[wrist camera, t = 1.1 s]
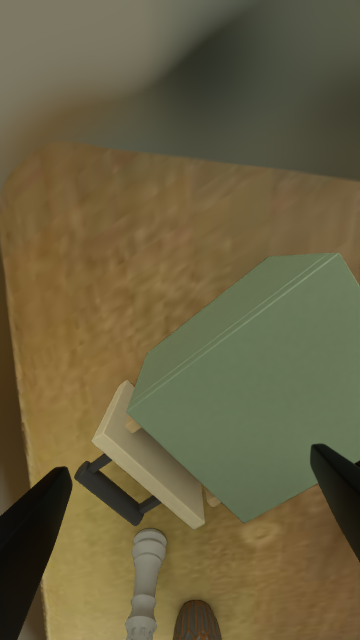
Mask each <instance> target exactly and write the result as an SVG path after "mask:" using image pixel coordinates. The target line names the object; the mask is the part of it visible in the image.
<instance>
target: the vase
mask: <svg viewBox="0 0 360 640" xmlns="http://www.w3.org/2000/svg"><path fill="white" fill-rule="evenodd" d="M173 640H222V638H221V633H220V629H219V625H218V622H217V619H216V617H215V615H214V613H213V611H212V610H211V608H210V607H209V606H208V605H207V604H206V603H205V602H203V601H198V600H194V601H189V602H187V603H186V604H185V605H184V606H183V607H182V609H181V611H180V612H179V615H178V617H177V620H176V623H175V628H174V635H173Z"/></svg>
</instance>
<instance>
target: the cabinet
mask: <svg viewBox="0 0 360 640" xmlns="http://www.w3.org/2000/svg"><path fill="white" fill-rule="evenodd" d="M126 413H127V414H128V415H129V416H131V417H132V418H133V419H134V420H135V421H136V422H137V423H138V424H139V425H140V426H141V427H142V428H143V429H144V430H145V431H146V432H148V433H149V434H150V435H151V436H152V437H153V438H154V439H155V440H156V441H157V442H158V443H159V444H160V445H161V446H162V447H163V448H164V449H166V450H167V451H168V452H169V453H170V454H171V455H172V456H173V457H174V458H175V459H176V460H177V461H178V462H179V463H180V464H181V465H183V466H184V467H185V468H186V469H187V470H188V471H189V472H190V473H191V474H192V475H193V476H194V477H195V478H196V479H197V480H198V481H199V482H201V483H202V484H203V485H204V486H205V487H206V488H207V489H208V490H209V491H210V492H211V493H212V494H213V495H214V496H215V497H216V498H218V499H219V500H220V501H221V502H222V503H223V504H224V505H225V506H226V507H227V508H228V509H229V510H230V511H231V512H232V513H233V514H234V515H236V516H237V517H238V518H239V519H240V520H241V521H242V522H243V523H247V522H248V521H250V520H252V519H254V518H256V517H258V516H259V515H261V514H263V513H265V512H267V511H268V510H270V509H272V508H274V507H276V506H278V505H279V504H281V503H283V502H285V501H287V500H288V499H290V498H292V497H294V496H296V495H298V494H299V493H301V492H303V491H305V490H307V489H308V488H310V487H312V486H314V485H316V484H318V481H317V479H316V477H315V475H314V473H313V471H312V468H311V465H310V450H311V445H312V444H319V443H323V444H325V445H327V446H329V447H330V448H332V449H333V450H335V451H336V452H337V453H339V454H340V455H342V456H343V457H345V458H346V459H348V460H349V461H351V462H352V463H356V462H358V461H359V460H360V286H359V284H358V283H357V281H356V279H355V278H354V276H353V275H352V273H351V271H350V270H349V268H348V266H347V265H346V263H345V261H344V260H343V258H342V256H341V255H340V253H320V254H303V255H287V256H270V257H268V258H266V259H265V260H264V261H263V262H261V263H260V264H259V265H258V266H256V267H255V268H254V269H253V270H251V271H250V272H249V273H248V274H246V275H245V276H244V277H243V278H241V279H240V280H239V281H238V282H236V283H235V284H234V285H232V286H231V287H230V288H229V289H227V290H226V291H225V292H224V293H222V294H221V295H220V296H219V297H217V298H216V299H215V300H214V301H212V302H211V303H210V304H209V305H207V306H206V307H205V308H204V309H202V310H201V311H200V312H198V313H197V314H196V315H195V316H193V317H192V318H191V319H190V320H188V321H187V322H186V323H185V324H183V325H182V326H181V327H180V328H178V329H177V330H176V331H175V332H173V333H172V334H171V335H170V336H168V337H167V338H166V339H165V340H163V341H162V342H161V343H159V344H158V345H157V346H156V347H154V348H153V349H152V350H151V351H149V352H148V353H147V355H146V358H145V360H144V363H143V366H142V369H141V371H140V374H139V377H138V380H137V382H136V385H135V388H134V391H133V393H132V396H131V399H130V402H129V405H128V408H127V410H126Z"/></svg>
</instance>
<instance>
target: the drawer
mask: <svg viewBox="0 0 360 640" xmlns="http://www.w3.org/2000/svg"><path fill="white" fill-rule="evenodd" d="M134 388H135V387H134V386H133V385H132V384H131V383H130V382H129V381H128V380H126V381H125V382H123V383H122V384H121V385H119V387H118V389H117V391H116V393H115V395H114V397H113V399H112V401H111V403H110V405H109V407H108V409H107V411H106V413H105V415H104V417H103V419H102V421H101V423H100V425H99V427H98V429H97V431H96V433H95V435H94V437H93V439H92V441H91V442H92V443H93V444H94V445H96V446H97V447H98V448H99V449H100V450H101V451H103V452H104V454H103V455H102V456H100V457H99V458H97V459H96V460H95V461H93V462H92V463H90V462H89V461H85V462H84V463H83V464H82V465H81V466H80V467H79V469H78V470H77V472H76V474H75V476H74V478H75V479H76V480H77V481H78V482H79V483H81V484H82V485H83V486H84V487H86V488H87V489H88V490H89V491H91V492H92V493H93V494H94V495H96V496H97V497H98V498H99V499H101V500H102V501H103V502H105V503H106V504H107V505H108V506H110V507H111V508H112V509H113V510H115V511H116V512H117V513H118V514H120V515H121V516H122V517H123V518H125V519H126V520H127V521H128V522H130V523H131V524H132V525H134V526H137V525H138V524H139V523H140V522H141V520H142V518H143V516H144V513H146V512H148V511H149V510H151V509H152V508H154V507H156V506H157V505H159V504H160V503H163V504H164V505H165V506H167V507H168V508H169V509H170V510H171V511H172V512H173V513H175V514H176V515H177V516H178V517H179V518H180V519H182V520H183V521H184V522H185V523H186V524H187V525H189V526H190V527H191V528H192V529H193V530H194V529H196V528H198V527H200V526H201V525H203V524H205V518H204V507H203V496H202V486H201V482H199V481H198V480H197V479H196V478H195V477H194V476H193V475H192V474H191V473H190V472H189V471H188V470H187V469H186V468H185V467H184V466H183V465H181V464H180V463H179V462H178V461H177V460H176V459H175V458H174V457H173V456H172V455H171V454H170V453H169V452H168V451H167V450H166V449H164V448H163V447H162V446H161V445H160V444H159V443H158V442H157V441H156V440H155V439H154V438H153V437H152V436H151V435H150V434H149V433H148V432H146V431H145V430H144V429H143V428H142V427H141V426H140V425H139V424H138V423H137V422H136V421H135V420H134V419H133V418H132V417H131V416H129V415H128V414H127V413H126V410H127V408H128V405H129V402H130V399H131V396H132V393H133V391H134ZM112 460H113V461H114V462H115V463H117V464H118V465H119V466H120V467H121V468H122V469H123V470H125V471H126V472H127V473H128V474H129V475H130V476H132V477H133V478H134V479H135V480H136V481H137V482H139V483H140V484H141V485H142V486H143V487H144V488H146V489H147V490H148V491H149V492H150V493H151V494H153V496H151V497H150V498H148V499H146V500H145V501H143V502H142V503H140V504H139V503H138V502H137V501H135V500H134V499H133V498H132V497H131V496H129V495H128V494H127V493H126V492H125V491H123V490H122V489H121V488H120V487H119V486H117V485H116V484H115V483H114V482H113V481H111V480H110V479H109V478H108V477H107V476H105V475H104V474H103V473H102V472H101V471H99V469H100V468H102V467H103V466H105V465H106V464H108V463H109V462H110V461H112ZM205 490H206V499H207V503H208V504H209V505H210V506H211V507H212V508H213V507H215V506H217V505H219V504H220V503H222V502H221V501H220V500H219V499H218V498H216V497H215V496H214V495H213V494H212V493H211V492H210V491H209V490H208V489H207V488H206V487H205Z"/></svg>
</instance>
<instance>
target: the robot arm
mask: <svg viewBox="0 0 360 640" xmlns="http://www.w3.org/2000/svg"><path fill="white" fill-rule="evenodd" d="M310 465H311V468H312V471H313V473H314V475H315V477H316V479H317V481H318V483H319V486H320V488H321V490H322V492H323V494H324V496H325V498H326V500H327V502H328V504H329V507H330V509H331V511H332V513H333V515H334V517H335V519H336V521H337V523H338V525H339V527H340V528H341V530H342V532H343V534H344V535H345V537H346V539H347V541H348V542H349V544H350V546H351V548H352V549H353V551H354V553H355V555H356V556H357V558H358V560H359V562H360V460H359V461H358V462H356V463H352V462H351V461H349V460H348V459H346V458H345V457H343V456H342V455H340V454H339V453H337V452H336V451H335V450H333V449H332V448H330V447H329V446H327V445H325V444H323V443H319V444H312V445H311V450H310ZM71 491H72V480H71V477H70V474H69V471H68V468H67V467H65V466H63V467H56V468H54V469H52V470H51V471H50V472H49V473H48V474H47V475H46V476H45V477H43V478H42V479H41V480H40V481H39V482H38V483H37V484H36V485H35V486H33V487H32V488H31V489H30V490H29V491H28V492H27V493H26V494H25V495H23V496H22V497H21V498H20V499H19V500H18V501H17V502H16V503H14V504H13V505H12V506H11V507H10V508H9V509H8V510H7V511H6V512H4V513H3V515H1V516H0V640H17V639H18V637H19V634H20V631H21V629H22V626H23V624H24V621H25V619H26V616H27V614H28V611H29V608H30V606H31V603H32V601H33V599H34V596H35V593H36V591H37V588H38V586H39V583H40V581H41V578H42V576H43V573H44V571H45V568H46V566H47V563H48V561H49V558H50V555H51V553H52V550H53V548H54V545H55V542H56V539H57V536H58V533H59V530H60V527H61V523H62V520H63V517H64V514H65V510H66V507H67V504H68V501H69V498H70V494H71Z"/></svg>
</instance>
